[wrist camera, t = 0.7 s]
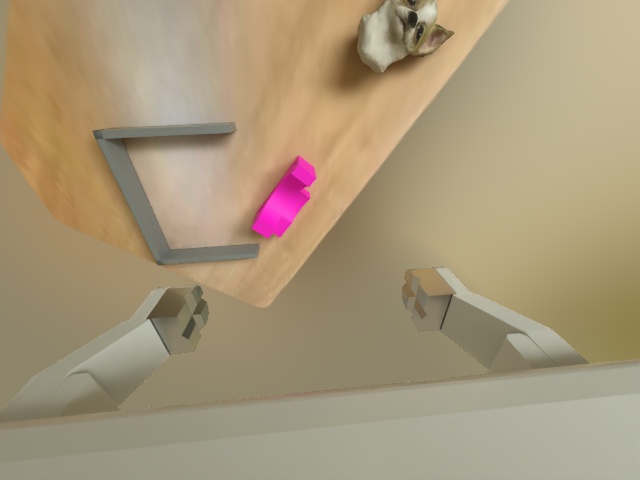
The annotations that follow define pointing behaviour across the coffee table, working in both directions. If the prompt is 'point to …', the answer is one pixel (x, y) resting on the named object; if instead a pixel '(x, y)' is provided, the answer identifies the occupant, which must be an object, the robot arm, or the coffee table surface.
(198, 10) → the coffee table surface
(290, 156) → the coffee table surface
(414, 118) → the coffee table surface
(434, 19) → the ceramic sculpture
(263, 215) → the magenta curved bracket
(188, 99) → the coffee table surface
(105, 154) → the box
